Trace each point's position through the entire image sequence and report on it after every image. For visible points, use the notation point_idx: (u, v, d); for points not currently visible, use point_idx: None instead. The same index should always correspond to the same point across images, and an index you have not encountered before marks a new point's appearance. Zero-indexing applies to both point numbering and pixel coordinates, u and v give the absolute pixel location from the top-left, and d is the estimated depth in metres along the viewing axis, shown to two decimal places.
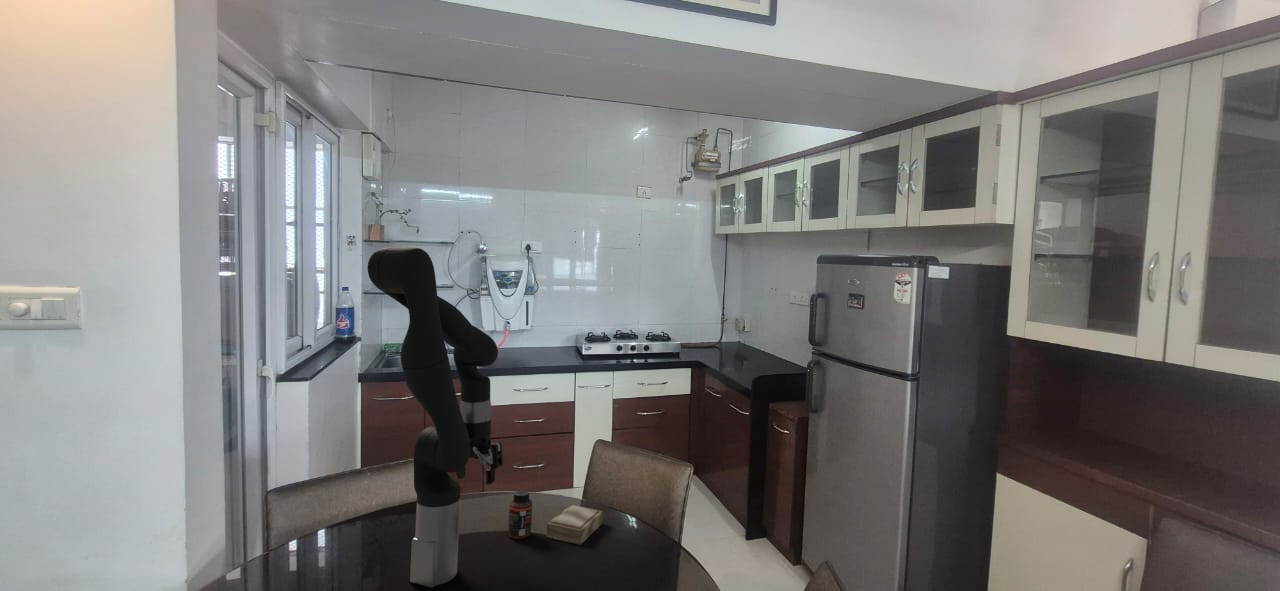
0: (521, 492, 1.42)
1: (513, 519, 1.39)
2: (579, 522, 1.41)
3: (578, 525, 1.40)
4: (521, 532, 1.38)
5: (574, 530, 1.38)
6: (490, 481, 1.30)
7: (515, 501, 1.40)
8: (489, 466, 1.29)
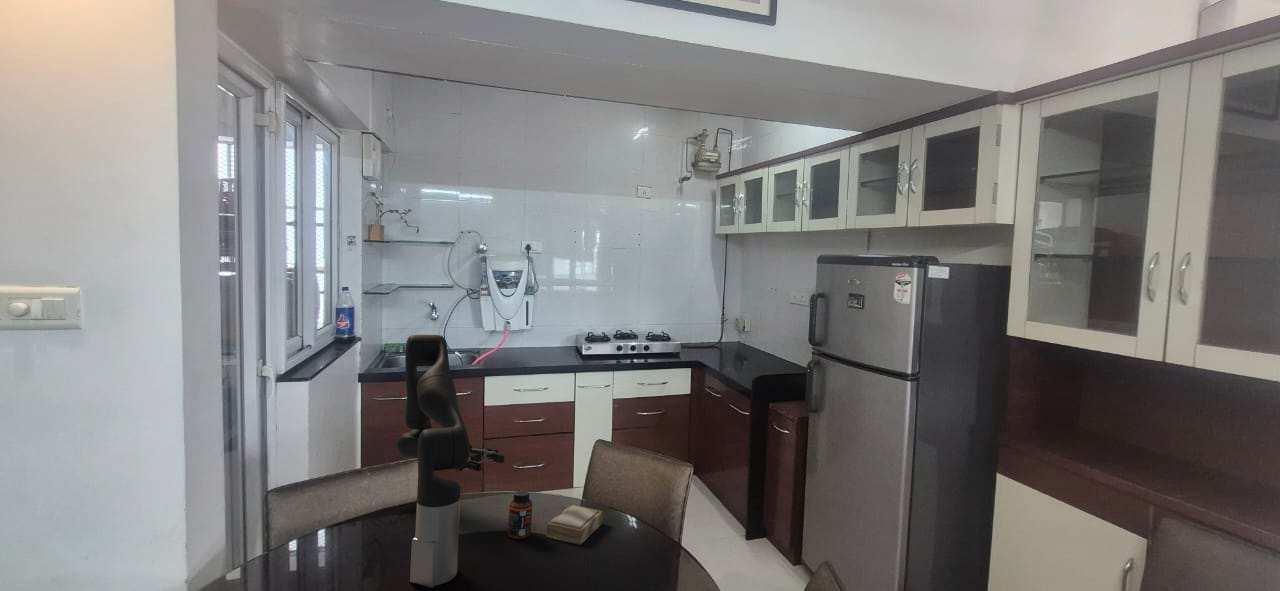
0: (521, 492, 1.42)
1: (513, 519, 1.39)
2: (579, 522, 1.41)
3: (578, 525, 1.40)
4: (521, 532, 1.38)
5: (574, 530, 1.38)
6: None
7: (515, 501, 1.40)
8: None
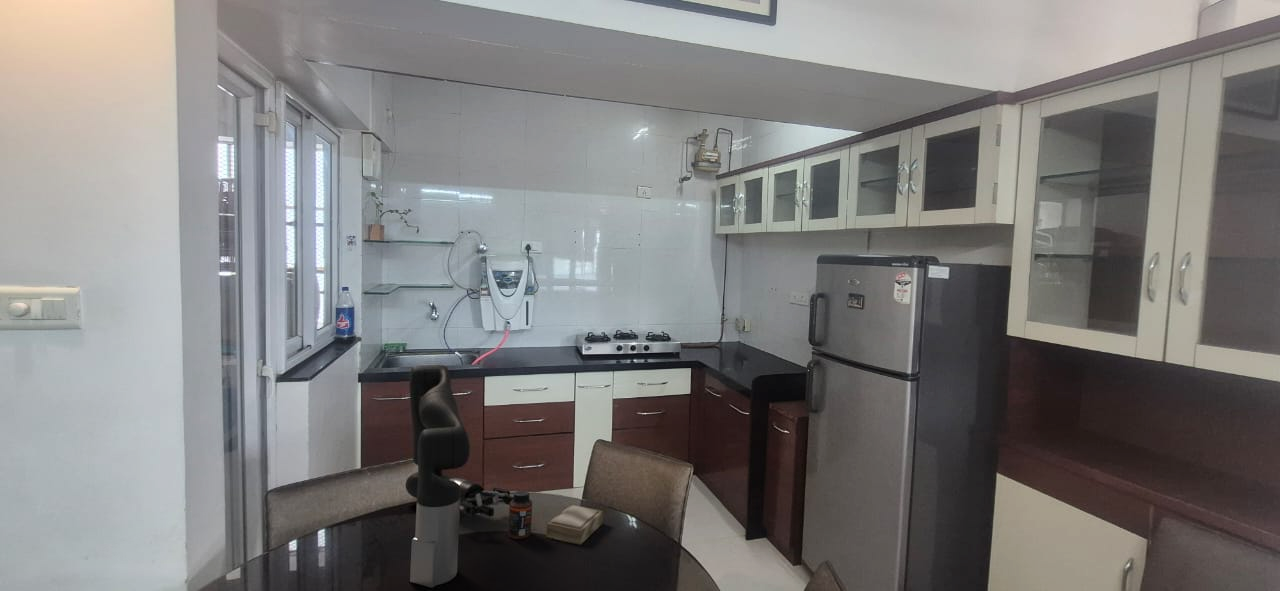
0: (521, 492, 1.42)
1: (513, 519, 1.39)
2: (579, 522, 1.41)
3: (578, 525, 1.40)
4: (521, 532, 1.38)
5: (574, 530, 1.38)
6: None
7: (515, 501, 1.40)
8: None
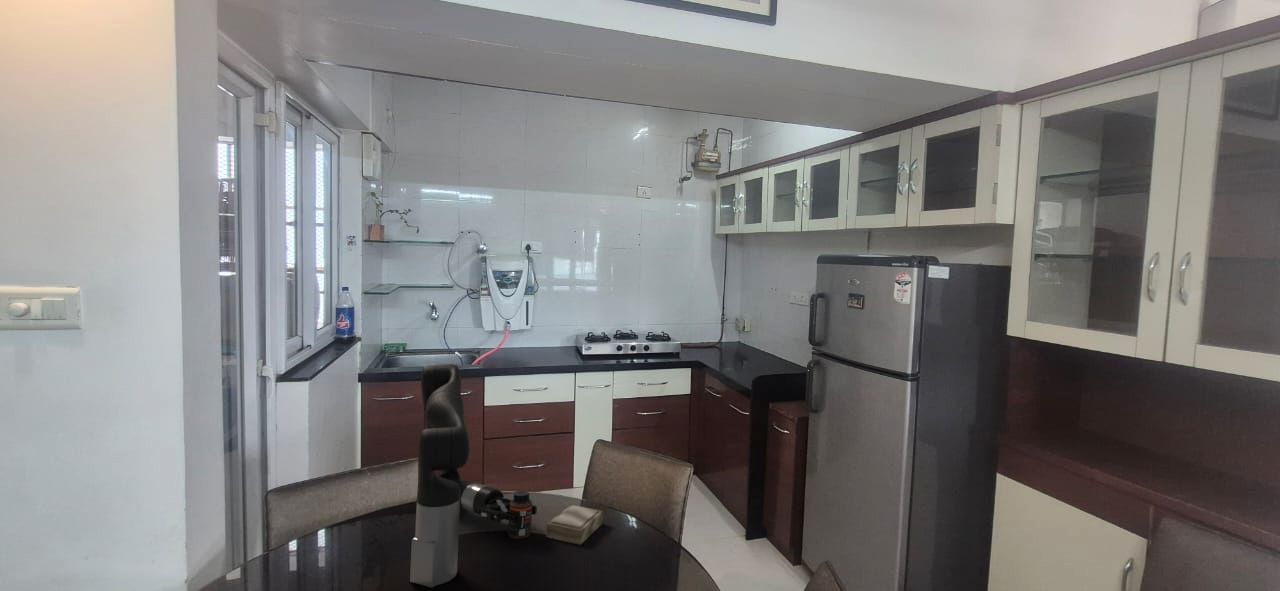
0: (521, 492, 1.42)
1: None
2: (579, 522, 1.41)
3: (578, 525, 1.40)
4: (521, 532, 1.38)
5: (574, 530, 1.38)
6: (535, 506, 1.44)
7: (515, 501, 1.40)
8: None
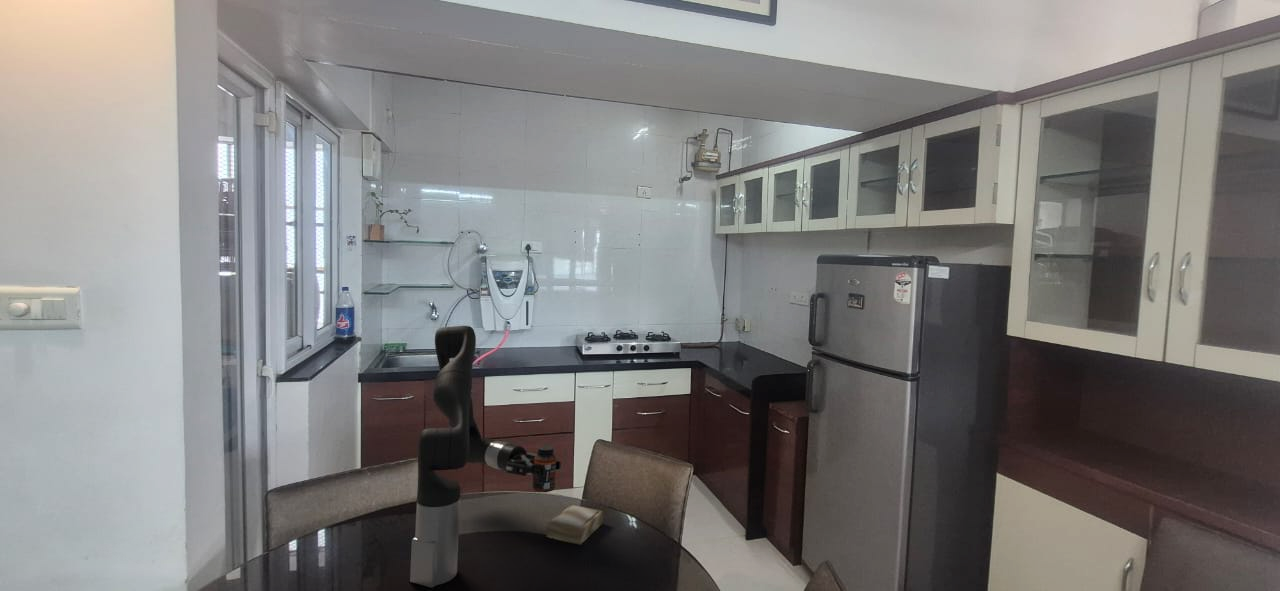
0: (545, 447, 1.44)
1: None
2: (579, 522, 1.41)
3: (578, 525, 1.40)
4: (545, 485, 1.41)
5: (574, 530, 1.38)
6: None
7: (540, 455, 1.42)
8: None
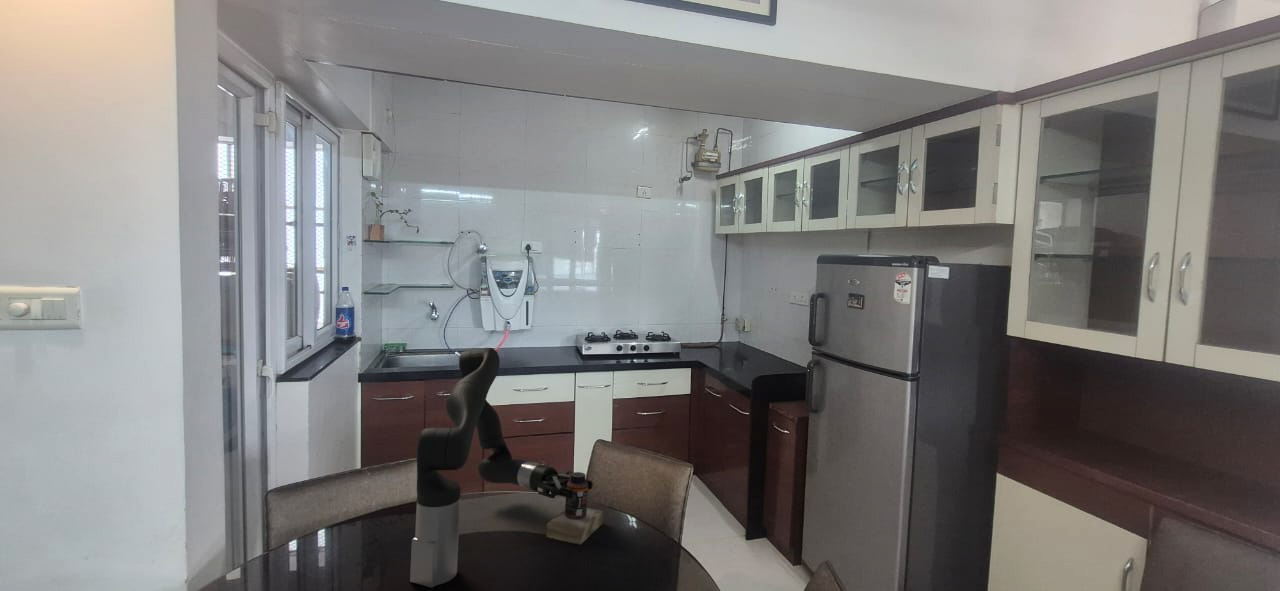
0: (577, 473, 1.46)
1: (570, 499, 1.43)
2: (579, 522, 1.41)
3: (578, 525, 1.40)
4: (578, 512, 1.43)
5: (574, 530, 1.38)
6: None
7: (572, 482, 1.44)
8: None
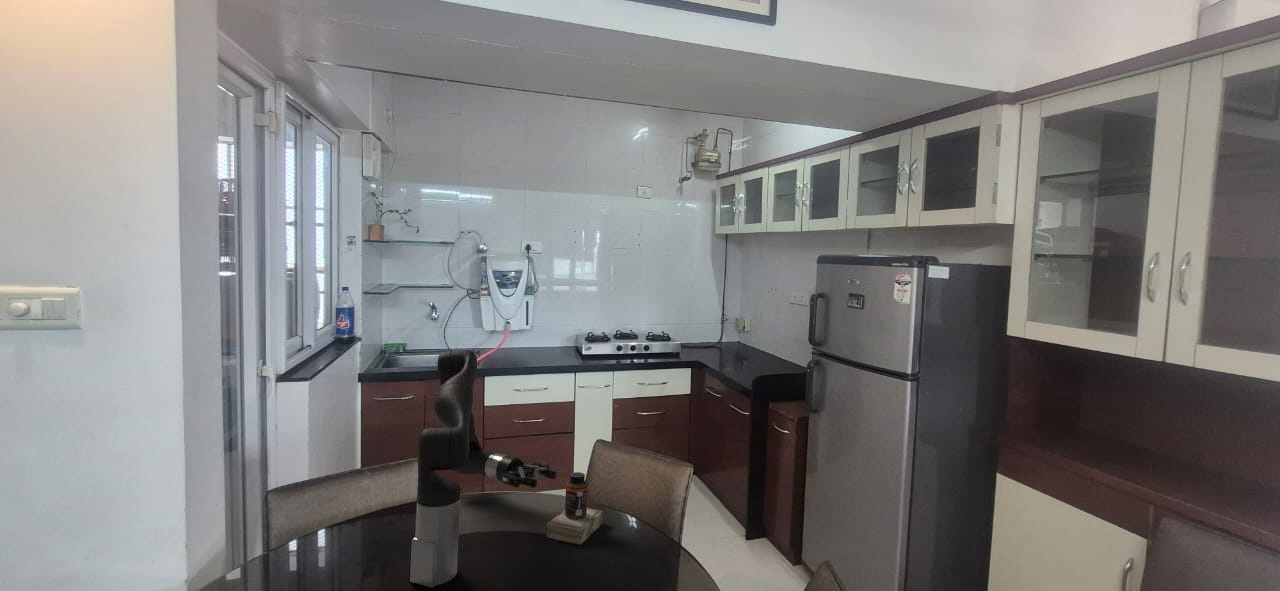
0: (577, 474, 1.46)
1: (570, 499, 1.43)
2: (579, 522, 1.41)
3: (578, 525, 1.40)
4: (577, 512, 1.43)
5: (574, 530, 1.38)
6: None
7: (571, 482, 1.44)
8: None
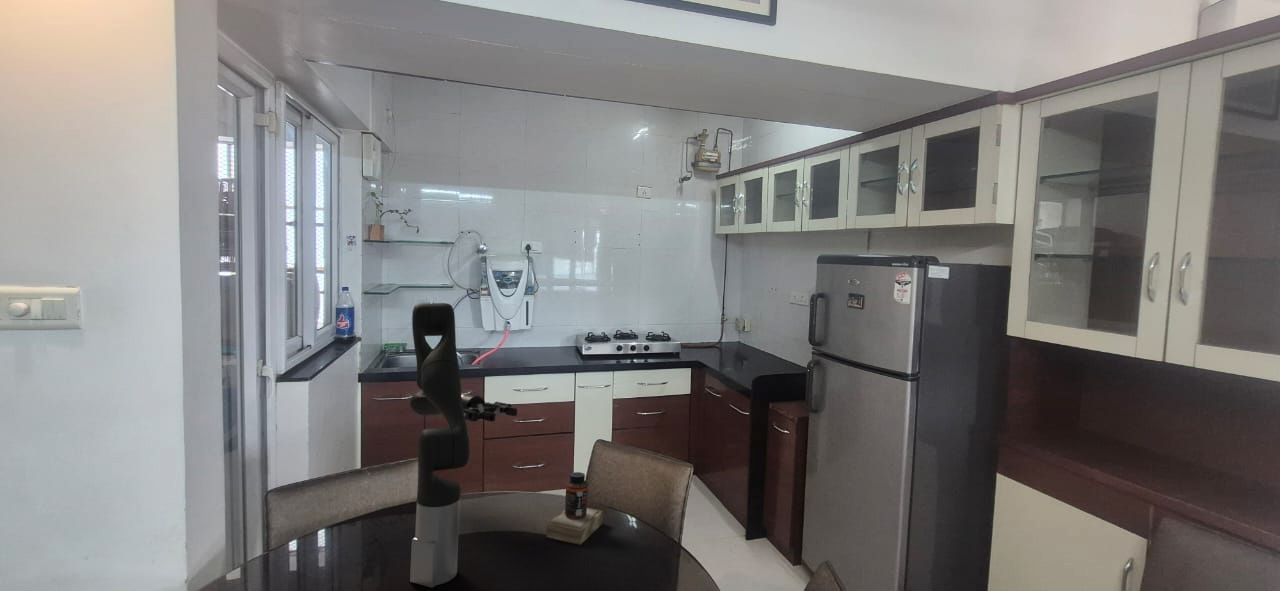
0: (577, 474, 1.46)
1: (570, 499, 1.43)
2: (579, 522, 1.41)
3: (578, 525, 1.40)
4: (577, 512, 1.43)
5: (574, 530, 1.38)
6: (515, 409, 1.53)
7: (571, 482, 1.44)
8: None
